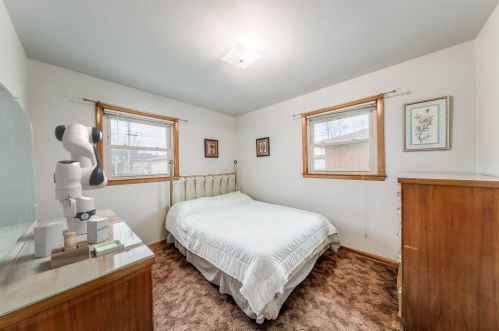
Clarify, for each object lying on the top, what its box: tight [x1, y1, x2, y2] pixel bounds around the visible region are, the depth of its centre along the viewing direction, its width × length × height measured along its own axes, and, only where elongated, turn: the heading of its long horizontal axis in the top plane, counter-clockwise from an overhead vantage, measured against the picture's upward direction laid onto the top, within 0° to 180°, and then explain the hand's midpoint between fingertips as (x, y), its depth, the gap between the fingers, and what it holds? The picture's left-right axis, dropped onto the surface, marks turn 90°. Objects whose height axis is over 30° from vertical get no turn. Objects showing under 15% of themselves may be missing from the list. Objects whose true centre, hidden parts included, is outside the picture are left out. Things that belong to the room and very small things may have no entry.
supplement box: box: [86, 217, 110, 244], centre depth 104 cm, size 7×7×13 cm
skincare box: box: [33, 221, 64, 258], centre depth 89 cm, size 8×6×15 cm
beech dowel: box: [63, 232, 77, 252], centre depth 83 cm, size 4×4×12 cm
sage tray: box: [93, 238, 125, 258], centre depth 92 cm, size 11×11×2 cm
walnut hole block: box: [50, 240, 90, 271], centre depth 83 cm, size 12×12×5 cm
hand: (69, 224), depth 83 cm, fingers open, 8 cm apart
